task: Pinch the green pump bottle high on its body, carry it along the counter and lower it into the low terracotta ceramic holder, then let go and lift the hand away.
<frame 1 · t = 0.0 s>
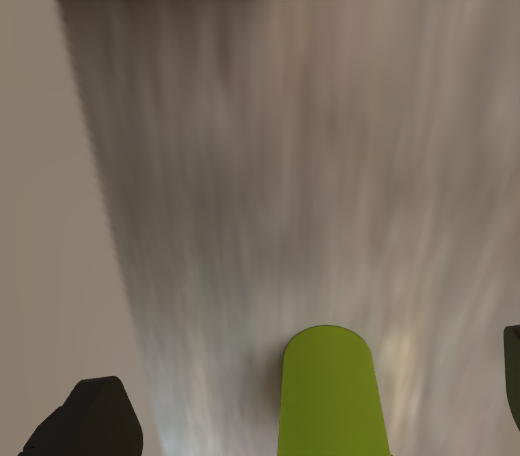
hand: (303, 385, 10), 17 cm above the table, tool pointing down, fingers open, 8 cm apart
green pump bottle: (331, 364, 31), on the table
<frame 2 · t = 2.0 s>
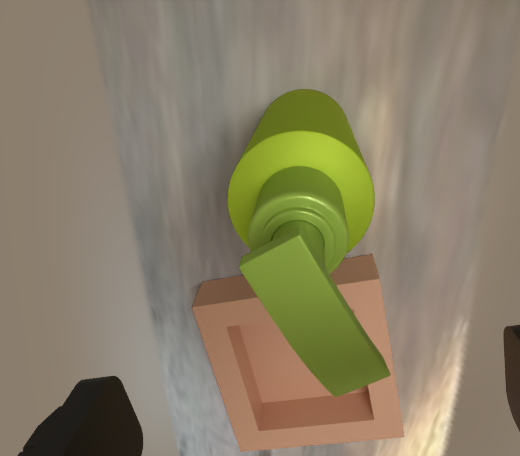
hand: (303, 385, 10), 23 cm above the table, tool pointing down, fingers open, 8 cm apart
green pump bottle: (307, 141, 31), on the table
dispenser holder: (303, 344, 37), on the table
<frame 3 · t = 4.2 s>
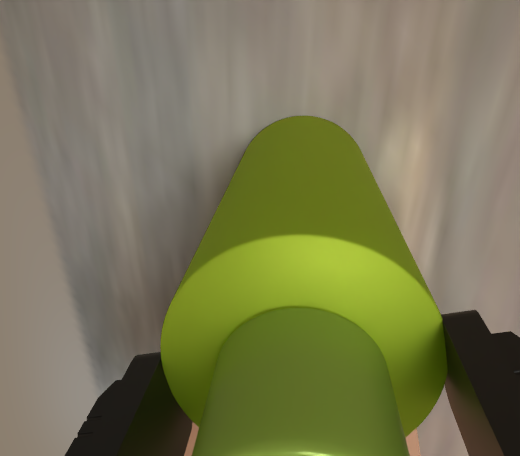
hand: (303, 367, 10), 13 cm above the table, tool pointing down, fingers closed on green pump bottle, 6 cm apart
green pump bottle: (307, 187, 22), on the table, touching gripper
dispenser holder: (301, 445, 28), on the table
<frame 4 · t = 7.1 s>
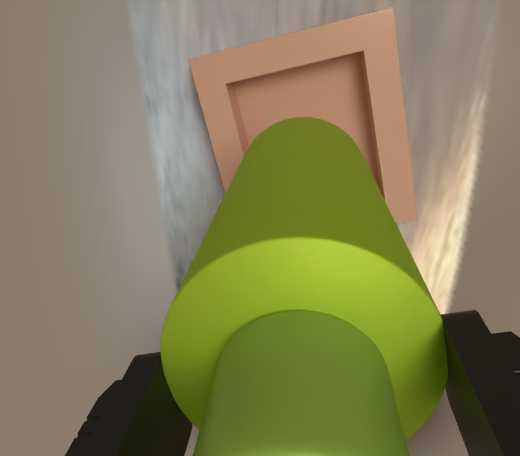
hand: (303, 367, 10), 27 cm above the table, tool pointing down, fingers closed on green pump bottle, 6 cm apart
green pump bottle: (307, 188, 22), point 14 cm above the table, touching gripper
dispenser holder: (308, 132, 34), on the table
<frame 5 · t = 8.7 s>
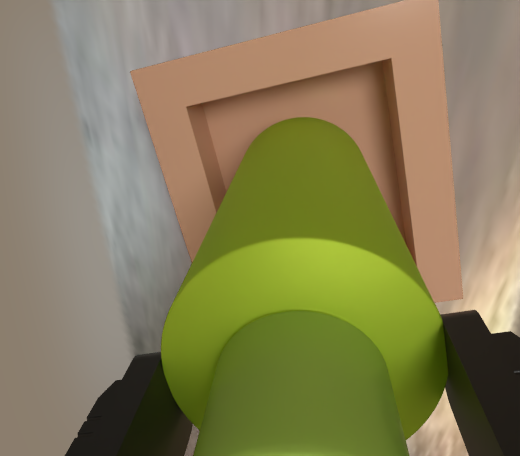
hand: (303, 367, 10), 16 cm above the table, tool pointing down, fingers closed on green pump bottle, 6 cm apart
green pump bottle: (308, 188, 22), point 3 cm above the table, touching gripper
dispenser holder: (307, 170, 25), on the table
when the fingers open (14 cm above the table, at t = 10.0 s): green pump bottle drops 1 cm, resting on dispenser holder.
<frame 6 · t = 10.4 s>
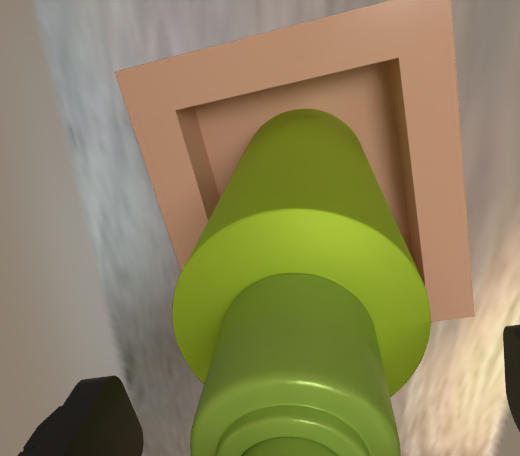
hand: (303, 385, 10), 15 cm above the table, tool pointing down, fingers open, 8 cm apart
green pump bottle: (309, 177, 23), resting on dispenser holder
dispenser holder: (307, 178, 23), on the table
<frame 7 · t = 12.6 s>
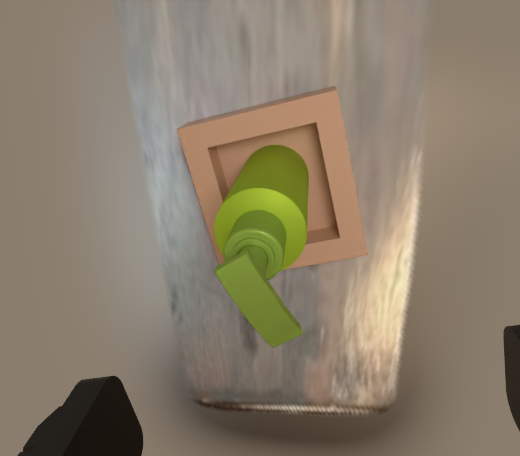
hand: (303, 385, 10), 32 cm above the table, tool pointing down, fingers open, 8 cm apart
green pump bottle: (278, 181, 41), resting on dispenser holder
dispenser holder: (278, 182, 42), on the table
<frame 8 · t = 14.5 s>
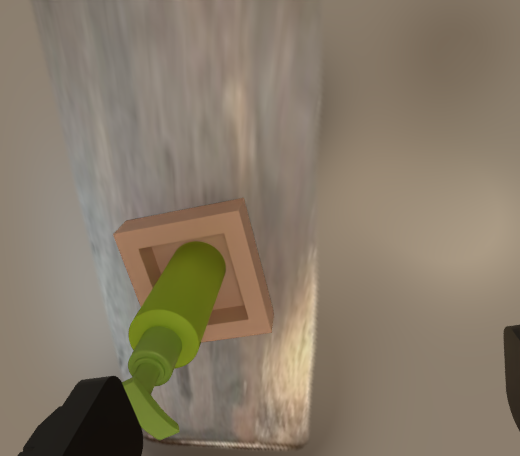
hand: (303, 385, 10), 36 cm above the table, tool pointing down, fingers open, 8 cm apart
green pump bottle: (202, 268, 50), resting on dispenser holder
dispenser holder: (202, 268, 50), on the table
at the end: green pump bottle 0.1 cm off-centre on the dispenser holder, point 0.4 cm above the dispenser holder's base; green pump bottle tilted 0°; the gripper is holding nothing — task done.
